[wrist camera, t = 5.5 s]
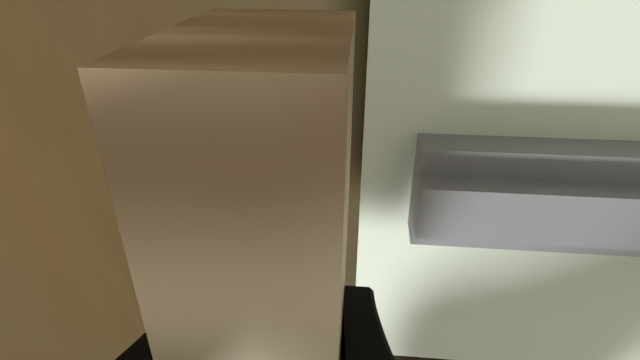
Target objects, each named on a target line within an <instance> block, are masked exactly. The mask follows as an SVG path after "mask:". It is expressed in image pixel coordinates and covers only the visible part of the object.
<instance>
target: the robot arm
mask: <svg viewBox="0 0 640 360" xmlns="http://www.w3.org/2000/svg"><path fill="white" fill-rule="evenodd" d="M115 360H153V358H152V354H151V350H150V346H149V342H148V338H147V335H146V332H145V333H144V334H143V335H142V336H141V337H140V338H139V339H138V340H137V341H136V342H135V343H133V344H132V345H131V346H130V347H129V348H128V349H127V350H126V351H124V352H123V353H122V354H121V355H120V356H119V357H118V358H117V359H115ZM342 360H395V358H394V356H393V354H392V351H391V349H390V346H389V344H388V341H387V339H386V336H385V333H384V330H383V327H382V324H381V321H380V318H379V315H378V311H377V307H376V303H375V298H374V291H373V290H372V289H371V288H370V287H361V286H345V287H344V299H343V319H342Z"/></svg>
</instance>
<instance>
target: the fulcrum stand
mask: <svg viewBox="0 0 640 360" xmlns="http://www.w3.org/2000/svg"><path fill="white" fill-rule="evenodd" d="M356 286H361V287H370V288H371V289H372V290H373V291H374V298H375V303H376V307H377V311H378V315H379V318H380V321H381V324H382V327H383V330H384V333H385V336H386V339H387V341H388V344H389V346H390V349H391V351H392V354H393V355H397V356H410V357H423V358H436V359H449V360H640V0H370V13H369V33H368V52H367V72H366V92H365V111H364V131H363V151H362V170H361V190H360V210H359V229H358V249H357V269H356Z"/></svg>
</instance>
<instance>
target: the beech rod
mask: <svg viewBox="0 0 640 360" xmlns="http://www.w3.org/2000/svg"><path fill="white" fill-rule="evenodd" d="M355 20H356V11H353V10H283V9H214V8H213V9H211V10H209V11H206V12H204V13H202V14H199V15H197V16H195V17H193V18H190V19H188V20H186V21H183V22H181V23H179V24H176V25H174V26H172V27H169V28H167V29H165V30H163V31H160V32H158V33H156V34H153V35H151V36H149V37H146V38H144V39H142V40H139V41H137V42H135V43H133V44H130V45H128V46H126V47H123V48H121V49H119V50H116V51H114V52H112V53H109V54H107V55H105V56H103V57H100V58H98V59H96V60H93V61H91V62H89V63H86V64H84V65H82V66H80V67H77V69H78V73H79V77H80V80H81V84H82V88H83V92H84V96H85V100H86V104H87V107H88V111H89V115H90V119H91V123H92V127H93V131H94V134H95V138H96V142H97V146H98V150H99V154H100V157H101V161H102V165H103V169H104V173H105V177H106V181H107V184H108V188H109V192H110V196H111V200H112V204H113V208H114V211H115V215H116V219H117V223H118V227H119V231H120V234H121V238H122V242H123V246H124V250H125V254H126V258H127V261H128V265H129V269H130V273H131V277H132V281H133V285H134V288H135V292H136V296H137V300H138V304H139V308H140V311H141V315H142V319H143V323H144V327H145V331H146V335H147V338H148V342H149V346H150V350H151V354H152V358H153V360H342V319H343V299H344V287H345V282H346V256H347V229H348V203H349V177H350V151H351V125H352V98H353V72H354V46H355Z"/></svg>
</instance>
